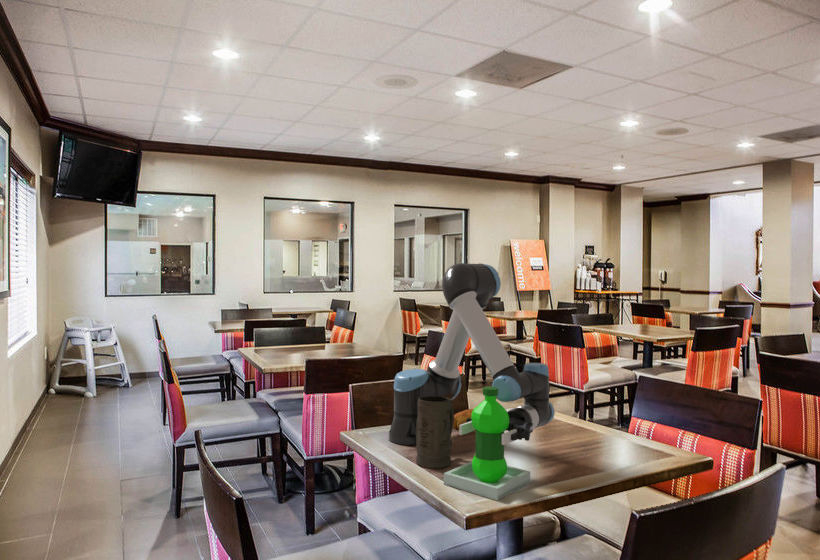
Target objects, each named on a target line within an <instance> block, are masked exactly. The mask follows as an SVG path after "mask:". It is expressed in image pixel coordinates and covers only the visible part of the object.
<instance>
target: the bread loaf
mask: <svg viewBox="0 0 820 560" xmlns="http://www.w3.org/2000/svg"><path fill="white" fill-rule="evenodd" d="M473 409H474V408H468V409H465V410H462V411H458V412H457V413H454V424H453V429H452V430H455V429H457V430H456V431H459V425H461V424H464V423H466V419H467V418H471V415H472V411H473ZM474 432H475V433H476V430H475V431H473V432H469V433H468V434H474Z"/></svg>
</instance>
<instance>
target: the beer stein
mask: <svg viewBox="0 0 820 560" xmlns="http://www.w3.org/2000/svg"><path fill="white" fill-rule="evenodd" d="M454 412H455V411H454V407H453V399H452V400H450V399H449V398H447V397H442V396H423V397H420V398H419V399H418V418H417V434H416V445H415V446H416V447H415V448H416V457H415V458H416V459H415V462H416V464H417V465H418V466H419V467H422V468H426V469H444V468H447V467H449V466H450V465H451V464H452V458H451V453H452V448H451V447H452V446H453V442H452V439H451V437H452V432H453V430H454V429H453V424H454V415H455V413H454Z"/></svg>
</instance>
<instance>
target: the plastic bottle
mask: <svg viewBox="0 0 820 560" xmlns="http://www.w3.org/2000/svg"><path fill="white" fill-rule="evenodd" d="M482 395H483V396H484V400H483V401H482V402H480V403H479V404H478V405H477V406H476V407H474V408H472V409H473V411H472V415H471V419H472V425H473V427H474V428H475V430H476V432H475V454H474V455H473V458H472V460H471V461H472V469H473V472H474V474H475V475H476V476H477V477H478V478H479V479H480V480H481V481H483V482H487V483H496V482H498V481H499V480H500V479H501V478H502V477H504V475H505V474H506V472H507V466H508V463H507V461H506V457H505V445H502V434H503V433H505V430H506V429H507V428H508V426H509V416H508V413H507V409H506V408H504V406H503V405H502V404H500V403H499V401H497V398H496V396H498V388H496V387H492V386H484V387H482Z"/></svg>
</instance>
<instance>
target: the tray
mask: <svg viewBox="0 0 820 560" xmlns="http://www.w3.org/2000/svg"><path fill="white" fill-rule="evenodd" d="M530 483H531V471H529V470H526V469H522V468H518V467H514V466H510V465H507V472H506V474H505V475H504V477H502V478H501V479H500V480H499V481H498V482H496V483H487V482H483V481H481V480H480V479H479V478H478V477H477V476H476V475H475V474H474V472H473V469H472V460H471V461H469V462H466V463H465V464H462V465H460V466H458V467H457V466H456V467H455V468H453V469H451V470H447V471H446V472H443V485H445V486H448V485H449V487H451V486H452V488H456V489H458V490H462V491H465V492H468V493H470V494H471V493H472V494H475V495H478V496H482V497H484V498H488V499H490V500H495V501H499V500H501V499H502V498H504V497H506V496H508V495H510V494H512V493H514V492H516V491H517V490H519V489H521V488H522V487H525V486H526V485H528V484H530Z"/></svg>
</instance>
